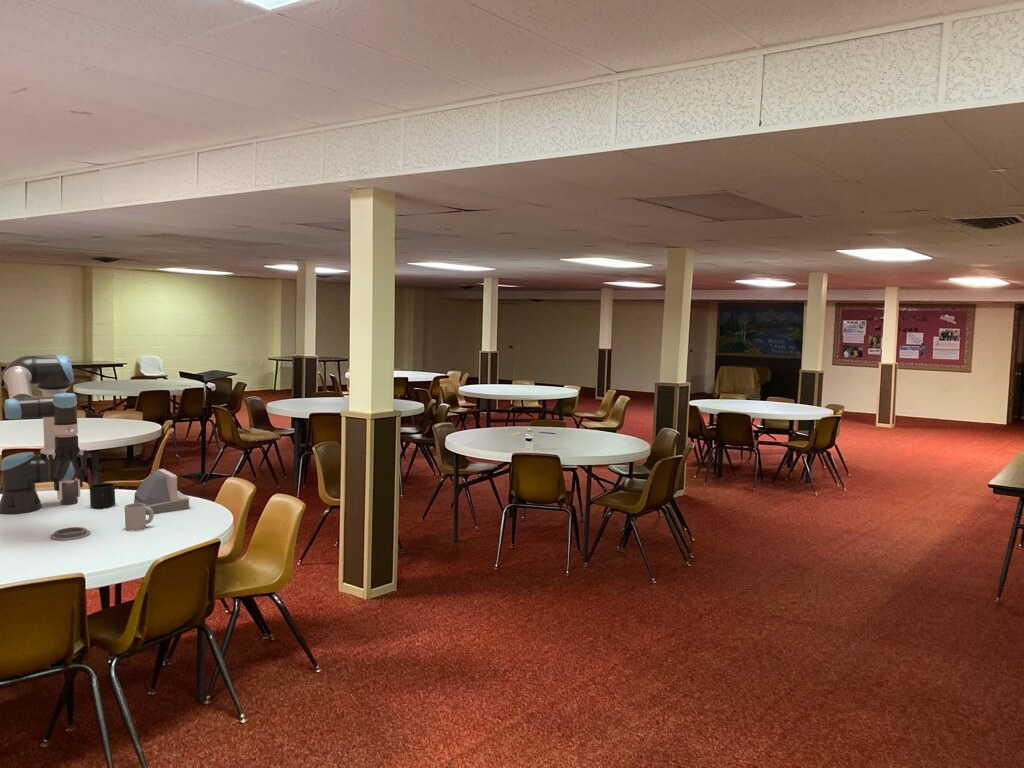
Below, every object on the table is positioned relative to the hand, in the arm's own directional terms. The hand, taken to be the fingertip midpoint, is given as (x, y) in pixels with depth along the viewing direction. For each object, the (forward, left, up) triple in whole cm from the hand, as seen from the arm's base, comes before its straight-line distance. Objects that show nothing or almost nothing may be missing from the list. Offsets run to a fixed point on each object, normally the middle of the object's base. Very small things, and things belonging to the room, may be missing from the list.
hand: (68, 497), depth 297 cm
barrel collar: (0, 0, -14) cm, 14 cm away
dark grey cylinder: (0, 0, -2) cm, 2 cm away
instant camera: (-17, +42, -15) cm, 48 cm away
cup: (+8, +22, -15) cm, 28 cm away
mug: (-35, +26, -15) cm, 46 cm away
